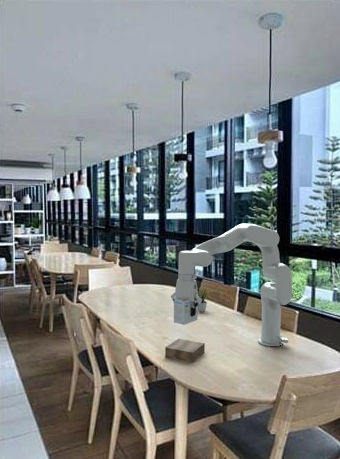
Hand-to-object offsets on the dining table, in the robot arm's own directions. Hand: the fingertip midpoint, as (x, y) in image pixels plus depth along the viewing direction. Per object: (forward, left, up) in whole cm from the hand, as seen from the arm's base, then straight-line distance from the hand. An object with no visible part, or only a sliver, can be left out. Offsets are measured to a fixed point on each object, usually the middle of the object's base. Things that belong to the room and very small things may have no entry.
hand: (185, 314), depth 181 cm
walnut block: (0, 0, -20) cm, 20 cm away
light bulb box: (0, 0, -4) cm, 4 cm away
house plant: (+29, -77, -20) cm, 85 cm away
